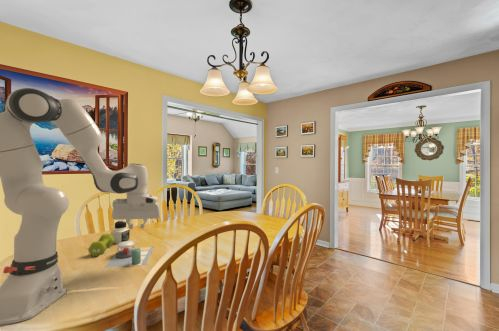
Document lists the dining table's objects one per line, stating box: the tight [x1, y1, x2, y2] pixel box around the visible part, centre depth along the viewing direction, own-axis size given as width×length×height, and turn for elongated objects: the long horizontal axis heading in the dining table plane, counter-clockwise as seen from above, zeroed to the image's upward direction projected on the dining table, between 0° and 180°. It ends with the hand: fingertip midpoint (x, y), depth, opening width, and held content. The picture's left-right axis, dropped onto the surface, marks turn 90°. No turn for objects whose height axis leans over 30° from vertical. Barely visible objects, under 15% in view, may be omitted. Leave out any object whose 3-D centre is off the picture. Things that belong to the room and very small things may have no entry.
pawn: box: [132, 249, 141, 266], centre depth 110 cm, size 4×4×6 cm
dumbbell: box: [87, 233, 115, 257], centre depth 126 cm, size 16×8×7 cm, turn 13°
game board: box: [104, 246, 155, 268], centre depth 118 cm, size 23×17×4 cm
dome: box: [116, 240, 135, 253], centre depth 119 cm, size 7×7×3 cm
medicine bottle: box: [110, 220, 131, 245], centre depth 140 cm, size 7×7×12 cm
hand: (136, 228), depth 110 cm, fingers open, 4 cm apart
